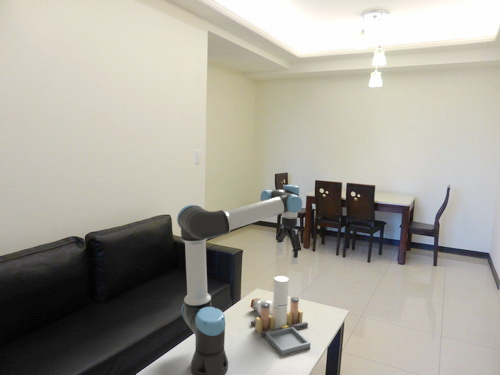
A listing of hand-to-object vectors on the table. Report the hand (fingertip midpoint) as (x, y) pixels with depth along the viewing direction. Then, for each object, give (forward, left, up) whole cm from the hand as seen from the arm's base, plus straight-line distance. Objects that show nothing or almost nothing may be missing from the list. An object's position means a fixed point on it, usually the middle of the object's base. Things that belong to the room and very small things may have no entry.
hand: (286, 259), depth 170 cm
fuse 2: (+7, +2, -35) cm, 36 cm away
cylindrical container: (-2, +2, -36) cm, 36 cm away
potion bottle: (-4, +15, -36) cm, 39 cm away
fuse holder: (-2, +2, -35) cm, 35 cm away
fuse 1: (-10, +2, -35) cm, 37 cm away
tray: (-6, -13, -35) cm, 38 cm away
